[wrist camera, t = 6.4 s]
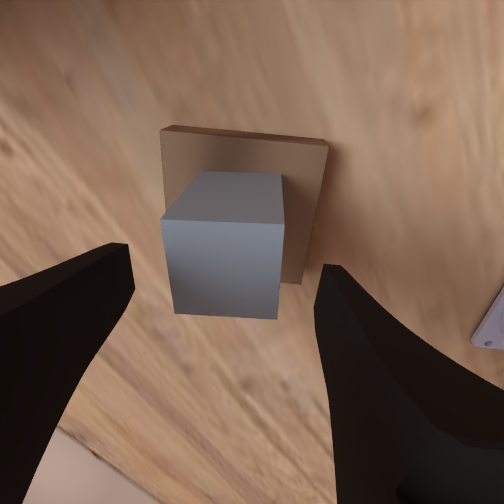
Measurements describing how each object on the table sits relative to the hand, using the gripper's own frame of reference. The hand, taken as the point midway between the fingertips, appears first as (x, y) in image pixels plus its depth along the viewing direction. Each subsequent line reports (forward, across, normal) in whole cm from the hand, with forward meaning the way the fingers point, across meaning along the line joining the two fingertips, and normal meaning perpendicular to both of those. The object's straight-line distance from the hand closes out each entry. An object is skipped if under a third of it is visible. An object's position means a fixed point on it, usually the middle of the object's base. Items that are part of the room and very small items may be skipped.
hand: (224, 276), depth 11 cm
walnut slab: (+8, 0, 0) cm, 8 cm away
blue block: (+6, 0, 0) cm, 6 cm away
